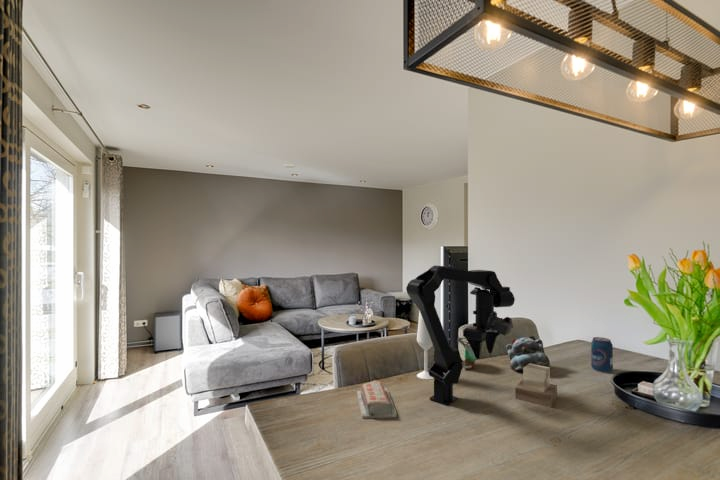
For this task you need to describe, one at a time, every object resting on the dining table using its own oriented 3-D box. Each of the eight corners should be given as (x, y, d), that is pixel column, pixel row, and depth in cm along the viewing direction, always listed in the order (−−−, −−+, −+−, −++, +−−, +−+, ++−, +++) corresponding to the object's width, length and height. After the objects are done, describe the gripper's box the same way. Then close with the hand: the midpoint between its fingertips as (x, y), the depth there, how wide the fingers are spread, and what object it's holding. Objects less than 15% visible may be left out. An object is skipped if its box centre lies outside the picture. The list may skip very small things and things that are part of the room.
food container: (482, 371, 138) (481, 345, 138) (465, 371, 138) (465, 345, 138) (472, 361, 150) (472, 337, 151) (457, 361, 151) (457, 336, 151)
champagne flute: (435, 379, 130) (435, 312, 130) (416, 378, 131) (416, 312, 131) (434, 373, 136) (434, 309, 137) (416, 372, 137) (416, 308, 138)
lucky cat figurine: (505, 371, 138) (498, 334, 145) (515, 375, 147) (508, 341, 154) (547, 366, 131) (538, 328, 138) (555, 371, 139) (546, 335, 146)
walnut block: (550, 409, 108) (550, 395, 108) (515, 400, 114) (515, 387, 114) (557, 397, 115) (557, 385, 116) (523, 390, 122) (523, 378, 122)
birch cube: (543, 392, 110) (543, 372, 110) (523, 386, 114) (523, 367, 114) (549, 386, 114) (549, 367, 115) (529, 381, 119) (529, 363, 119)
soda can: (587, 369, 141) (587, 338, 141) (596, 366, 145) (596, 335, 145) (607, 374, 135) (607, 342, 135) (616, 371, 139) (615, 339, 139)
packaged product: (397, 401, 102) (362, 403, 101) (397, 418, 101) (362, 420, 101) (386, 377, 119) (356, 379, 119) (386, 392, 119) (356, 393, 118)
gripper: (497, 315, 107) (496, 368, 107) (520, 308, 121) (519, 355, 121) (462, 310, 115) (461, 359, 115) (487, 304, 129) (487, 348, 128)
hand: (484, 355), depth 119 cm, fingers open, 9 cm apart
